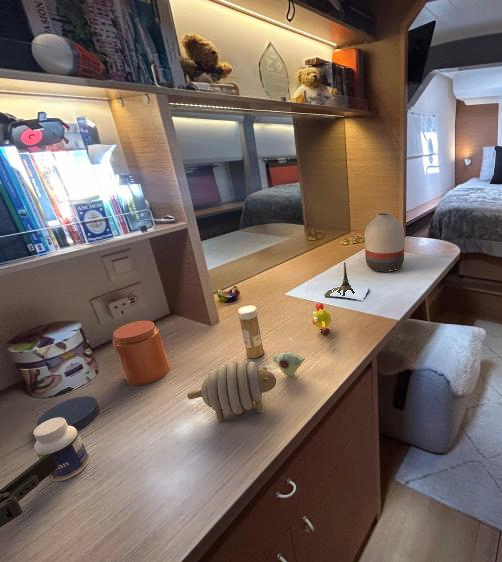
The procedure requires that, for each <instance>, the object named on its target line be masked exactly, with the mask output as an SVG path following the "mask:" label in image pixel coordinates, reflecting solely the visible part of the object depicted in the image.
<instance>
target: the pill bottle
mask: <svg viewBox="0 0 502 562" xmlns="http://www.w3.org/2000/svg"><path fill="white" fill-rule="evenodd" d="M32 434H33V437H34V439H35V440H36V441H35V443H34V451H35V454H36V455H37V457H38V458H39V459H41V458H42V457H43V456H44V455H46V454H49V453H52V456H53V458H54V460H55V463H56V465H57V469H56V470H55V471H53V472H52V473H51V474H50V475H49V476H48V477H49V479H50V480H51V481H54V482H62V481H66V480H68V479H71V478H73V477H74V476H75V477H76V476H77V475H78V474H79V473H81V472H82V471H83V470H84V469H85V468H86V467H87V466H88V464H89V462H90V455H89V453H88V450H87V449H86V447H85V444H84V442H83V440H82V438H81V436H80V434H79V432H78V430H76V429H75V428H74V427H73V426H68V425H67V422H66V420H65V419H64V418H61V417H58V418H53V419H50V420H47V421H45V422H43V423H42V424H40V425H39V426H38V427H37V426H36V427H35V429H33V432H32ZM39 459H38V460H39Z"/></svg>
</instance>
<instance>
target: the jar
mask: <svg viewBox="0 0 502 562" xmlns="http://www.w3.org/2000/svg"><path fill="white" fill-rule="evenodd" d="M163 341H164V340H163V339H162V335H161V331H160V329H159V327H158V326H156V325H155V323H154V322H153V321H151V320H138V321H132V322H130V323H127V324H124V325H122V326H120V327H118V328H117V329H116V330H114V332H113V334H112V341H111V343H112V345H113V348H114V351H115V354H116V356H117V359H118V361H119V364H120V368H121V370H122V371H123V375H124V377H125V380H126V382H127V384H128V385H131V386H145V385H148V384H151V383H154V382H156V381H158V380H160V379H162V378H163V377H164V376H166V375H167V374H168V373H169V371H170V369H171V363H170V361H169V358H168V355H167V351H166V349H165V348H166V347H165V345H164V342H163Z"/></svg>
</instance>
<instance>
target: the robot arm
mask: <svg viewBox="0 0 502 562" xmlns="http://www.w3.org/2000/svg"><path fill="white" fill-rule="evenodd" d="M56 469H57V465H56V463H55V460H54V458H53V456H52V453H49V454H46V455H44V456H43V457H42V458H41V459H38V460H37V461H35V462H34V463H33V464H31V465H30V466H29V467H28V468H26V469H25V470H23V472H21V473H20V474H19V475H17V476H16V477H15V478H13V479H12V480H11V481H10V482H8V483H6V484H5V485H4V486H3V487H1V488H0V528H2V527H4V526H6V525H7V524H9V523H10V522H12V521H13V520H15V519H17V518H18V517H20V516H21V515H22V514H23V513H24V510H23V508H22V506H21V505H20V501H21V500H22V499H24V498H25V497H26V496H27V495H28V494H30V493H31V492H32V491H33V490H34V489H36V488H37V487H38V486H39V484H41V483H42V482H43V481H44V480H45V479H47V478H48V477H49V475H50V474H51V473H52V472H53V471H55V470H56Z"/></svg>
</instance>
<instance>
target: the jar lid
mask: <svg viewBox="0 0 502 562" xmlns="http://www.w3.org/2000/svg"><path fill="white" fill-rule="evenodd" d="M100 411H101V406H100V404H99V401H98V399H97V398H96V397H94V396H90V395H84V396H77V397H73V398H70V399H67V400H66V401H62V402H60V403H58V404H56V405H54V406H52V407H51V408H50V409H47V411H46V412H45V413H43V414H42V415H41V416H40V417H39V419H38V420H37V422H36V427H38V426H39V425H40V424H42V423H43V422H45V421H47V420H50V419H53V418H58V417H61V418H64V419H65V420H66V422H67V425H68V426H73V427H74V428H75V429H76V430H77V431H80V430H81V429H83V428H85V427H86V426H88V425H89V424H90V423H92V421H94V420H95V419H96V418H97V416H98V415H99V414H100Z"/></svg>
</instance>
